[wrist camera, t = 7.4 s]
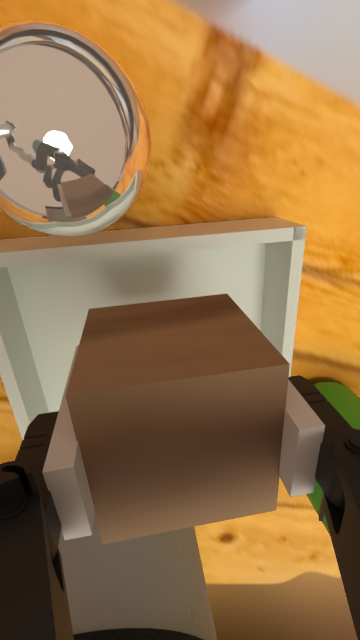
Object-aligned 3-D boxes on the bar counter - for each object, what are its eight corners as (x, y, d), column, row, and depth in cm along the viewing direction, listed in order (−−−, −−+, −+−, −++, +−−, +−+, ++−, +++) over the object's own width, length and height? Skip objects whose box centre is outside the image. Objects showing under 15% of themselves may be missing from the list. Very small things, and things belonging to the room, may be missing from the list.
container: (-32, 473, 29) (-167, 740, 15) (176, 423, 30) (220, 626, 17) (40, 586, 37) (-7, 824, 23) (200, 542, 38) (243, 742, 25)
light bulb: (63, 230, 22) (6, 288, 11) (-3, 117, 18) (-175, 41, 8) (157, 185, 21) (195, 200, 11) (106, 63, 18) (86, -90, 8)
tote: (47, 432, 28) (35, 476, 24) (-11, 240, 21) (-42, 256, 17) (262, 399, 31) (283, 433, 27) (274, 216, 24) (306, 226, 20)
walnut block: (88, 308, 14) (65, 395, 8) (227, 293, 14) (289, 364, 9) (109, 420, 16) (102, 544, 11) (227, 402, 17) (276, 510, 11)
